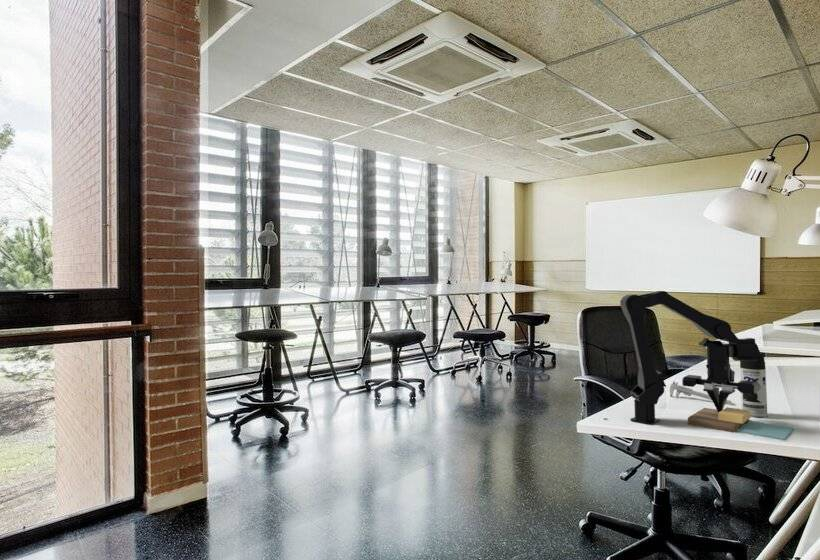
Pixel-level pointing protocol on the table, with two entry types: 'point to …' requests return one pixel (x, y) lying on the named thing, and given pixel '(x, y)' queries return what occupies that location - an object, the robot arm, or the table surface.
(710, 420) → the brown slab
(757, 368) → the spray can
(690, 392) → the caliper
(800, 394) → the table surface
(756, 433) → the mat
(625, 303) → the robot arm
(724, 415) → the tile
